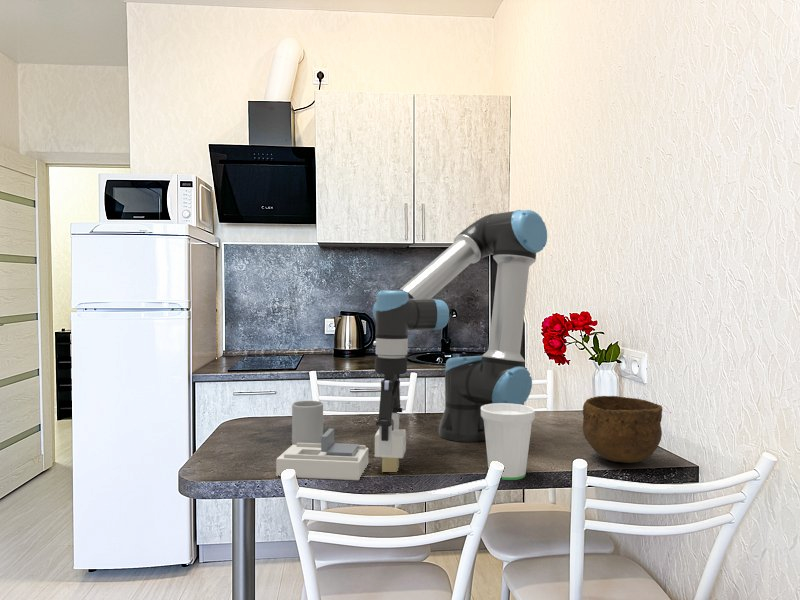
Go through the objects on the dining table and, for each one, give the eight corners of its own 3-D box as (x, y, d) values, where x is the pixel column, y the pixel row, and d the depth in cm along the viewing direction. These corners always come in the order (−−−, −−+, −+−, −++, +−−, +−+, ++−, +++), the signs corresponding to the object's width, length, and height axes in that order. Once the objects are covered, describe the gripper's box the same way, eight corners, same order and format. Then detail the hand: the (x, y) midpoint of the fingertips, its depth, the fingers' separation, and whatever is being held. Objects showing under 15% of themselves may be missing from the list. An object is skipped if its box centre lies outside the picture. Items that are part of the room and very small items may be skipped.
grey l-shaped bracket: (358, 449, 139) (358, 429, 139) (352, 458, 132) (352, 437, 132) (329, 447, 140) (329, 428, 140) (321, 457, 132) (321, 436, 132)
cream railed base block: (368, 464, 141) (368, 444, 141) (358, 480, 129) (358, 458, 129) (292, 460, 144) (292, 441, 143) (276, 476, 132) (276, 455, 131)
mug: (320, 447, 155) (320, 406, 155) (288, 447, 156) (288, 406, 155) (327, 436, 167) (327, 398, 167) (298, 435, 168) (298, 397, 167)
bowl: (673, 476, 134) (674, 411, 133) (588, 471, 137) (589, 408, 136) (651, 453, 152) (652, 396, 152) (577, 449, 155) (577, 393, 155)
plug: (405, 466, 139) (406, 416, 139) (402, 475, 133) (402, 422, 133) (379, 465, 140) (379, 415, 140) (374, 474, 134) (374, 421, 133)
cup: (516, 487, 125) (517, 416, 125) (469, 474, 134) (469, 408, 133) (544, 473, 135) (545, 408, 134) (498, 462, 143) (498, 400, 143)
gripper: (383, 350, 149) (381, 433, 149) (365, 361, 124) (363, 460, 124) (412, 351, 148) (410, 434, 148) (400, 363, 123) (398, 462, 123)
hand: (389, 446), depth 136 cm, fingers open, 13 cm apart
